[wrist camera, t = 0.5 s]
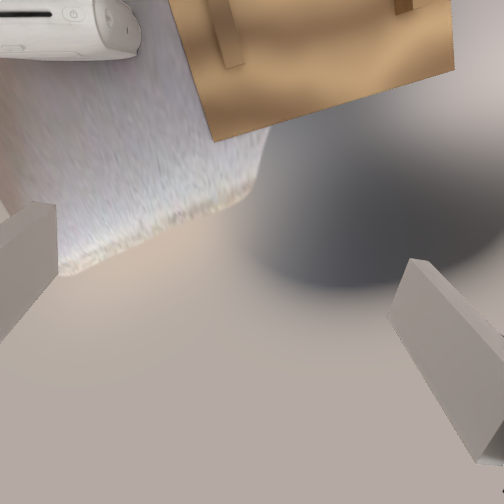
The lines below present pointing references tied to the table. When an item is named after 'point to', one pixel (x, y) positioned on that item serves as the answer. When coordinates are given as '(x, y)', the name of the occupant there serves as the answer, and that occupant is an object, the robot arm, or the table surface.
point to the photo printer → (68, 30)
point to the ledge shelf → (306, 54)
